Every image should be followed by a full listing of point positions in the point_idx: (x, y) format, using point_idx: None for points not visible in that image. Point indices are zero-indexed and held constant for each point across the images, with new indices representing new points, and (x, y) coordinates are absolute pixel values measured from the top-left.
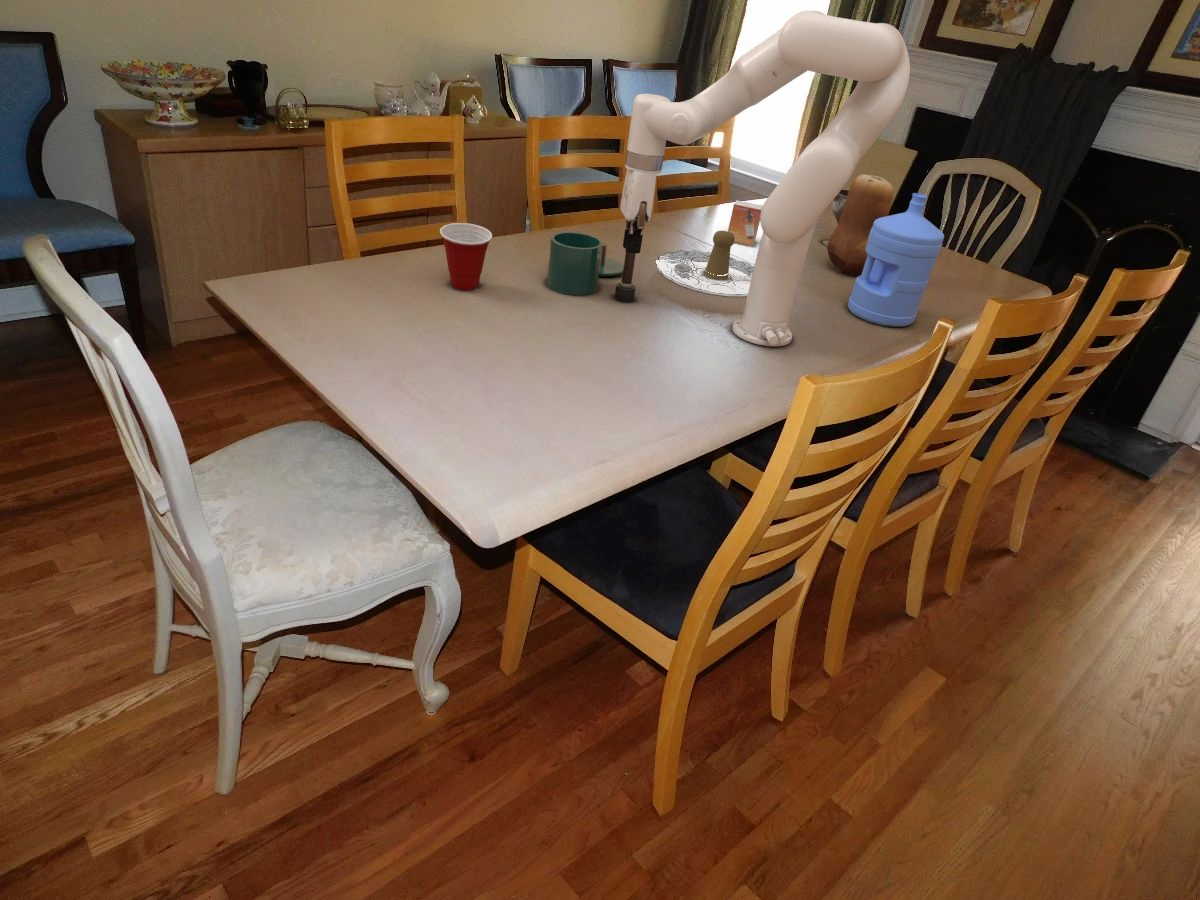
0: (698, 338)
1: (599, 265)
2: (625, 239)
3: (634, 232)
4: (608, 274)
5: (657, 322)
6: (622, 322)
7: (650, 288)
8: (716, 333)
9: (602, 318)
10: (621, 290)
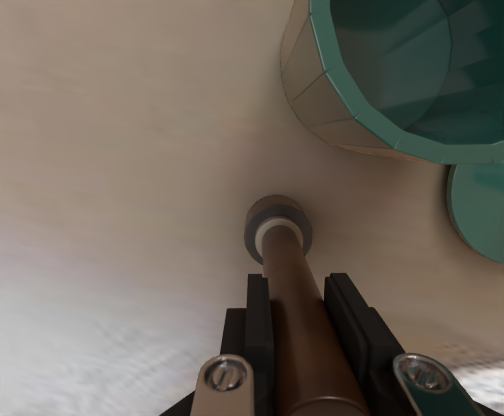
0: (45, 363)
1: (355, 146)
2: (337, 304)
3: (171, 412)
4: (449, 201)
5: (119, 286)
6: (92, 189)
7: None
8: (88, 407)
9: (106, 132)
10: (250, 216)
